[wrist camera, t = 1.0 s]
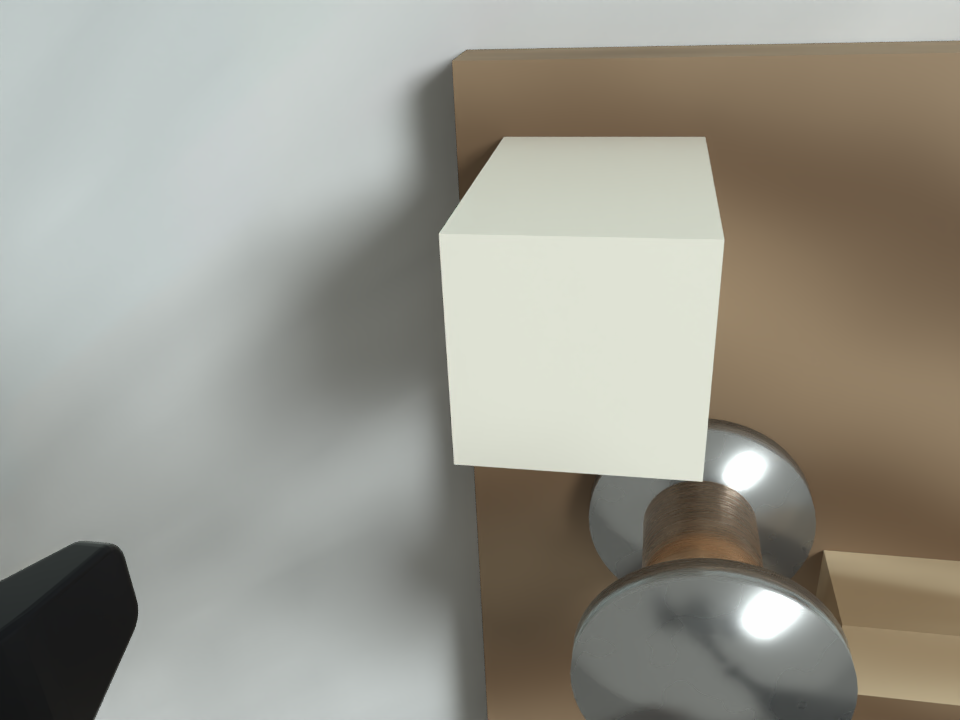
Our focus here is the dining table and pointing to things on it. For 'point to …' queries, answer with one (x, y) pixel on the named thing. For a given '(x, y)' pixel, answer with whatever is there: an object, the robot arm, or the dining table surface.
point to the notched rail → (897, 622)
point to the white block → (584, 307)
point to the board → (757, 308)
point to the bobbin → (710, 596)
